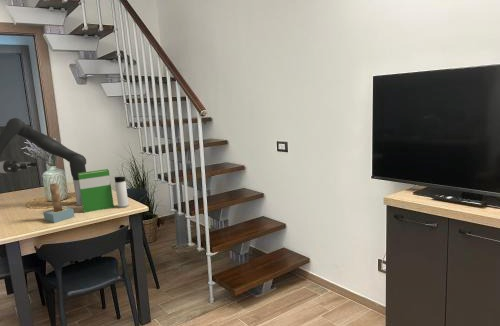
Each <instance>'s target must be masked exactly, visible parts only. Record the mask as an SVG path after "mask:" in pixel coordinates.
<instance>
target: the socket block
mask: <svg viewBox="0 0 500 326" xmlns="http://www.w3.org/2000/svg"><path fill="white" fill-rule="evenodd" d="M72 218H75V211H74V208H72V207H68V206H64V205H63V206H62V211H59V212H54V208H51V209H49V210H45V211H43V219H44V221H47V222H49V221H50V223H52V222H53V224H56V223H59V222H63V221H65V220H69V219H72Z"/></svg>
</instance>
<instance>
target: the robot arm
mask: <svg viewBox="0 0 500 326" xmlns="http://www.w3.org/2000/svg"><path fill="white" fill-rule="evenodd" d="M16 135H17V136H20V137H22V138H24V139H27V140H28V141H30V142H31V143H32V144H33V145H35V146H36V147H38V148H39V149H41V150H43V151H44V152H46V153H48V154H51V155H52V156H56V157H59V158H62V159H64V161H65V160H66V162H68V163H69V169H70V174H71V178H72V181H73V189H74V194H75V202H76V205H77V206H83V203H82V197H81V190H80V184H79V177H78V173H82V172H87V169H86V164H87V159H86V157H85V156H84V155H82V154H81V153H78V152H76V151H74V150H71V149H70V148H68V147H66V146H65V145H64V144H62V143H60V142H59V141H57V140H56V139H54V138H52V137H51V136H48V135H47V134H44V133H42V132H40V131H37V130H35V129H34V128H32V127H31V126H30V125H29V124H27V123H25V122H24V121H23V120H22V119H20V118H17V117H14V118H13V117H12V118H10V119H8V121H7V122H6V125H5V127H4V129H3V130H2V131H1V133H0V157H2V155H3V153H4V152H5V150H6V149H7V147H8V145H9V144H10V142H11V140H12V139H13V138H14V137H16ZM37 166H38V162H34V161H25V162H22V161H21V162H18V161H16V160H14V159H13V160H1V161H0V174H13V173H17V172H18V171H21V170H27V169H28V168H30V167H37Z"/></svg>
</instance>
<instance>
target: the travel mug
mask: <svg viewBox="0 0 500 326" xmlns="http://www.w3.org/2000/svg"><path fill="white" fill-rule="evenodd" d="M114 183H115V191H116V199H117V206H118V208H120V209H124V208H127V207H129V204H130V203H129V199H128V191H127V183H126V177H125V176H115V177H114Z"/></svg>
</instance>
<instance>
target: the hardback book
mask: <svg viewBox="0 0 500 326" xmlns="http://www.w3.org/2000/svg"><path fill="white" fill-rule="evenodd" d="M78 177H79V184H80V190H81V197H82V203H83V205H82V208H83V213H84V214H85V213H89V212H96V211H102V210H107V209H113V208H114V207H115V205H114V198H113V191H112V184H111V183H112V181H111V177H110V171H109V169H108V168H106V169H105V168H104V169H97V170H92V171H86V172H82V173H78Z"/></svg>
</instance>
